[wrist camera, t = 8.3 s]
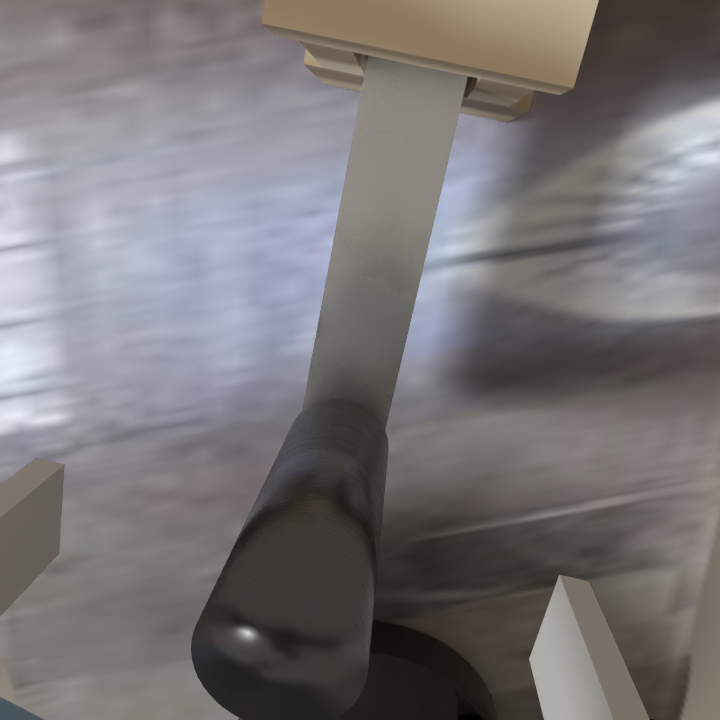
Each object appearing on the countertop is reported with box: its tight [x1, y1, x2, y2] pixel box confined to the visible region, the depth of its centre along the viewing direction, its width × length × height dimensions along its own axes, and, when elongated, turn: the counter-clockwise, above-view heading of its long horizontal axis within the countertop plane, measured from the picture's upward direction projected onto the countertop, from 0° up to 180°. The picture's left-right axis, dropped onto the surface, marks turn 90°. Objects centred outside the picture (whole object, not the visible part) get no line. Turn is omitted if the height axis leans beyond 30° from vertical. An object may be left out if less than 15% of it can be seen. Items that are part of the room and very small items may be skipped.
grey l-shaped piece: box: [191, 55, 468, 720], centre depth 15 cm, size 24×4×13 cm, turn 169°
